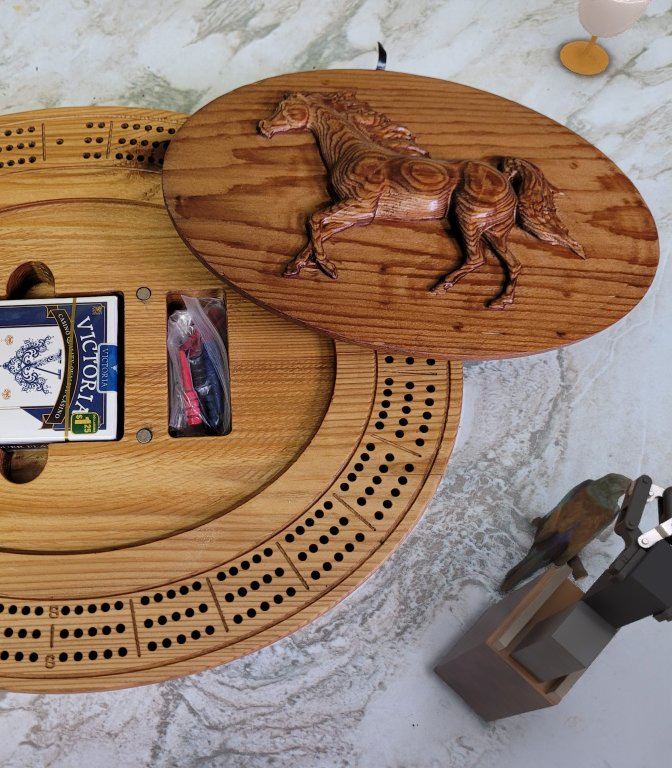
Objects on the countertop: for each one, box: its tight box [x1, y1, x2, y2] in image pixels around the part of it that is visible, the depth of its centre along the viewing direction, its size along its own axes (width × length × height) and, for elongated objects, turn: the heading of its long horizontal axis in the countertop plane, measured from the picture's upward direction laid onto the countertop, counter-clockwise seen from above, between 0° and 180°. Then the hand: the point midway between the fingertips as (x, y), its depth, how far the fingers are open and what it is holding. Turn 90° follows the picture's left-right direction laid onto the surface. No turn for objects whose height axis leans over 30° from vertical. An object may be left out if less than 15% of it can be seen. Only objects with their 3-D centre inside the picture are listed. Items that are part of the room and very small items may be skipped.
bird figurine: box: [498, 472, 634, 594], centre depth 112 cm, size 13×10×20 cm
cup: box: [559, 0, 653, 76], centre depth 152 cm, size 12×12×17 cm
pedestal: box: [432, 568, 554, 723], centre depth 101 cm, size 9×12×23 cm
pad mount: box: [485, 563, 623, 707], centre depth 85 cm, size 9×12×13 cm
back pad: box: [578, 539, 672, 629], centre depth 79 cm, size 4×5×12 cm
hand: (638, 598), depth 75 cm, fingers closed on back pad, 4 cm apart
